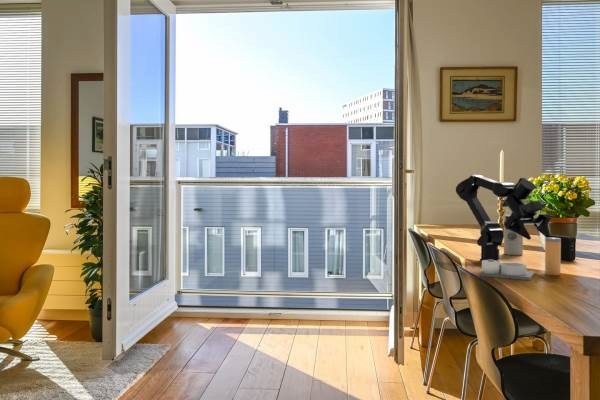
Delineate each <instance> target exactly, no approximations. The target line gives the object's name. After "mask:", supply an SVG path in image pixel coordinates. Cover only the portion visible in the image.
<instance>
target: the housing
mask: <svg viewBox="0 0 600 400" xmlns="http://www.w3.org/2000/svg"><path fill="white" fill-rule="evenodd" d="M527 268H528V267H527V264H526V263H522V262H513V261H510V262H509V261H507V262H506V261H504V262H501V261H499V260H497V261H496V260H493V259H488V260H481V271H480V272H479V277H487V278H498V277H500V278H501V279H509V278H511V280H519V281H531V279H533V277H534V276H535V271H533V270H527Z"/></svg>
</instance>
